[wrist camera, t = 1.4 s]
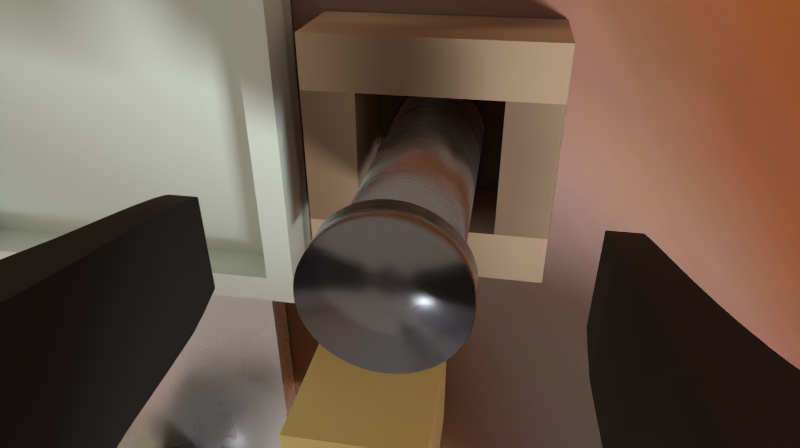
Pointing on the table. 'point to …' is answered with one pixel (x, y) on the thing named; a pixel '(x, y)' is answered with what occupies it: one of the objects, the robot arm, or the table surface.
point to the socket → (442, 78)
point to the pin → (400, 247)
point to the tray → (156, 126)
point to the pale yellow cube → (365, 407)
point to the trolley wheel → (224, 382)
